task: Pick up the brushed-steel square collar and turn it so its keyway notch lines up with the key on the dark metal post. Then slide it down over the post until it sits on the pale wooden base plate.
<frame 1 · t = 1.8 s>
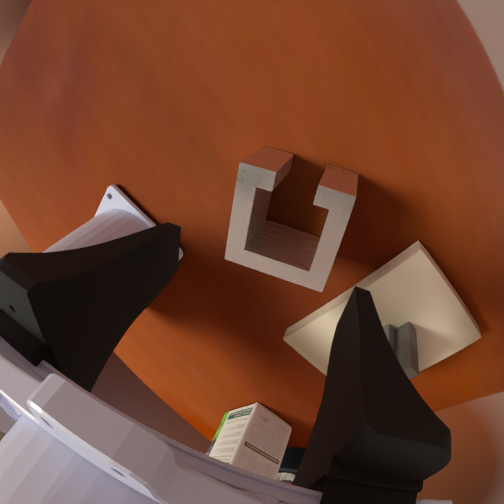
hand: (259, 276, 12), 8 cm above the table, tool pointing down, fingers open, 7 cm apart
syrup box: (260, 418, 33), on the table
steel collar: (299, 202, 19), on the table
keyed post base: (384, 330, 21), on the table
watch: (294, 454, 36), on the table
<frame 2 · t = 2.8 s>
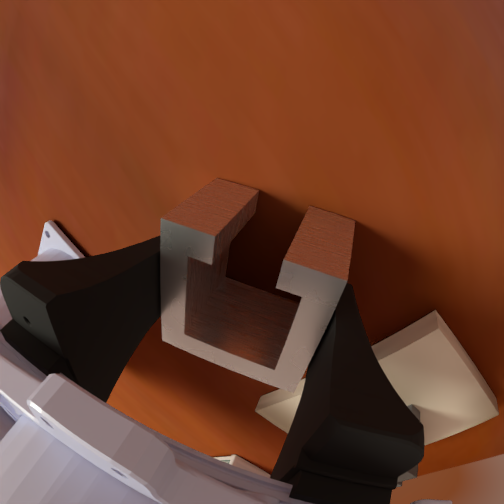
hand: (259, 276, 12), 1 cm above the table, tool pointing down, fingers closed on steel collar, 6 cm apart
syrup box: (240, 466, 27), on the table
steel collar: (269, 257, 14), on the table, touching gripper
keyed post base: (381, 405, 16), on the table
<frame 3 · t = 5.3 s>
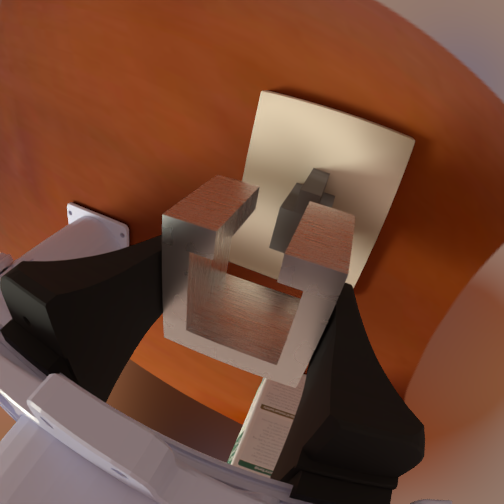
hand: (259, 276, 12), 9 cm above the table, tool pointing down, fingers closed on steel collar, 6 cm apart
syrup box: (291, 385, 30), on the table
steel collar: (270, 253, 14), point 8 cm above the table, touching gripper
keyed post base: (313, 200, 20), on the table
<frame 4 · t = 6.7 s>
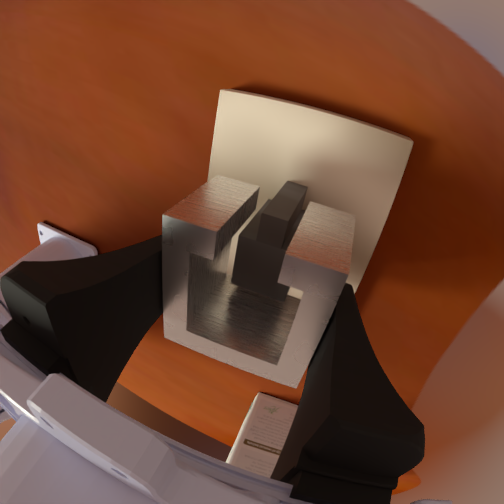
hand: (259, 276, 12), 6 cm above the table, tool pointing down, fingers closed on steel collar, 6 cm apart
syrup box: (281, 413, 27), on the table
steel collar: (270, 253, 14), point 4 cm above the table, touching gripper
keyed post base: (291, 218, 17), on the table
when the fingers open (4 cm above the table, at t = 7.7 s): steel collar stays where it is, resting on keyed post base.
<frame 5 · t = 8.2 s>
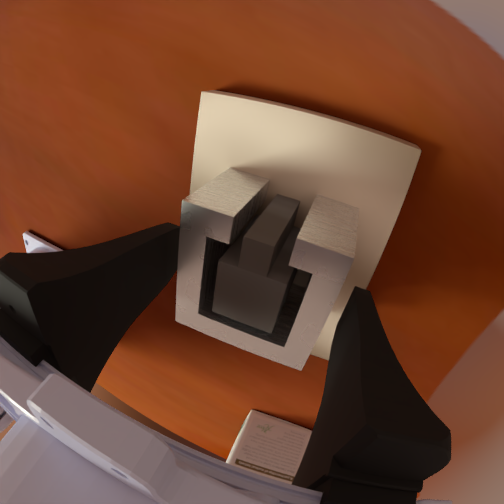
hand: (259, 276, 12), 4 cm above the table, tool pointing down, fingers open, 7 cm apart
syrup box: (275, 430, 25), on the table
steel collar: (278, 243, 14), point 1 cm above the table, touching keyed post base
keyed post base: (283, 233, 15), on the table
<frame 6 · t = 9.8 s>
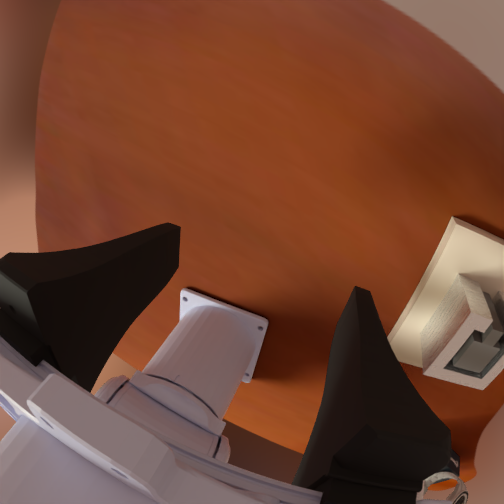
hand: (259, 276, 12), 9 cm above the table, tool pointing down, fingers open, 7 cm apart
steel collar: (468, 316, 19), point 1 cm above the table, touching keyed post base
keyed post base: (464, 307, 20), on the table
watch: (439, 454, 30), on the table
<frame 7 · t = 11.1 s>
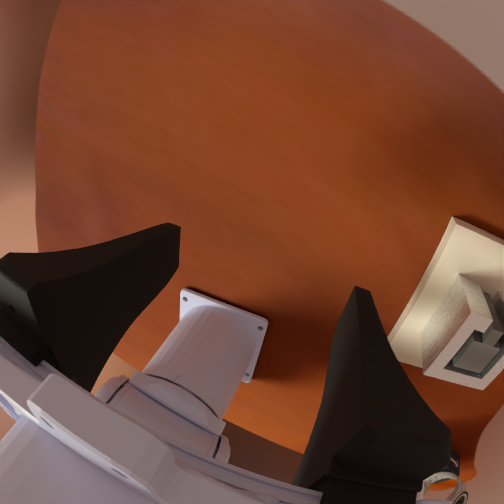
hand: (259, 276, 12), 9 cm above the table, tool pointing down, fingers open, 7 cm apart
steel collar: (468, 316, 19), point 1 cm above the table, touching keyed post base
keyed post base: (464, 307, 20), on the table
watch: (439, 454, 30), on the table
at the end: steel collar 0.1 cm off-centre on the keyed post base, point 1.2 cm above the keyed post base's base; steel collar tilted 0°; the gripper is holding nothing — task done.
